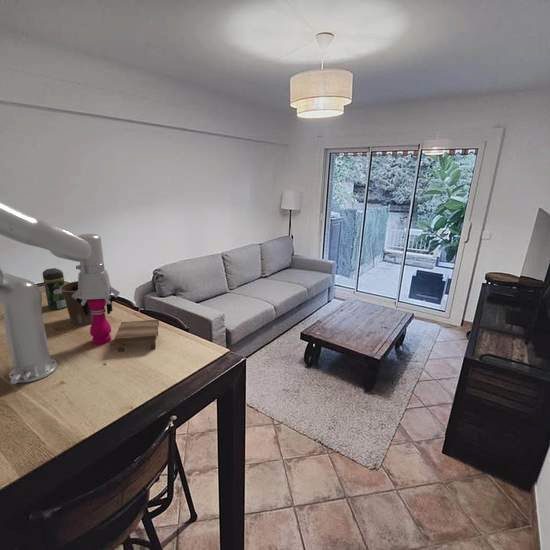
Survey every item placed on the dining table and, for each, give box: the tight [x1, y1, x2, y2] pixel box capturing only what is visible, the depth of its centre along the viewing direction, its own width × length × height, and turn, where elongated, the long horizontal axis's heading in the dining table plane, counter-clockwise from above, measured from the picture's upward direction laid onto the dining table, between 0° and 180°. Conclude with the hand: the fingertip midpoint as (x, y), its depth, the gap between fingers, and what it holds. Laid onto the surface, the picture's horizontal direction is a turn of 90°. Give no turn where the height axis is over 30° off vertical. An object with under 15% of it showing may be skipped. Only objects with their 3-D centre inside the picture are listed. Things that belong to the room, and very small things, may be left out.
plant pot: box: [60, 280, 93, 326], centre depth 140 cm, size 16×16×16 cm
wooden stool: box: [113, 319, 160, 353], centre depth 124 cm, size 14×14×6 cm
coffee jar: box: [42, 267, 67, 310], centre depth 152 cm, size 10×8×19 cm
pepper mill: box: [88, 299, 112, 346], centre depth 122 cm, size 7×7×20 cm
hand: (98, 313), depth 121 cm, fingers open, 6 cm apart
